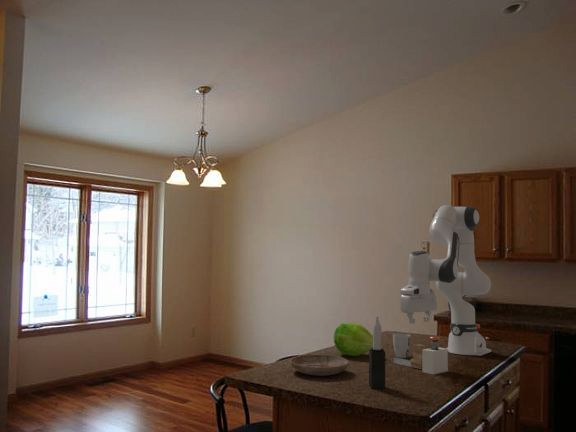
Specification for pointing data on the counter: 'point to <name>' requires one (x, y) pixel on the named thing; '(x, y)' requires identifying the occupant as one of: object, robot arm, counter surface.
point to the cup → (401, 344)
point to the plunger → (435, 343)
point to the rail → (402, 362)
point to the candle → (377, 360)
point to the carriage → (417, 356)
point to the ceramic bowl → (319, 364)
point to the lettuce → (353, 339)
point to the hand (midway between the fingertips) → (419, 322)
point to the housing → (434, 360)
